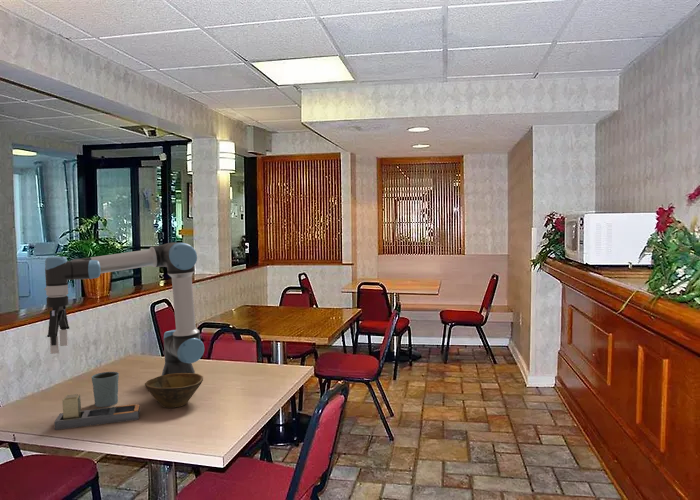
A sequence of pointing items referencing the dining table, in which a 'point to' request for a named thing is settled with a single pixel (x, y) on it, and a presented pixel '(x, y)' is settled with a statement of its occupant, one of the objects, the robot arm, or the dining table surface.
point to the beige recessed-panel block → (71, 407)
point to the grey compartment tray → (100, 416)
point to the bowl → (174, 388)
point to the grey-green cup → (105, 388)
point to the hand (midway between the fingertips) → (59, 349)
